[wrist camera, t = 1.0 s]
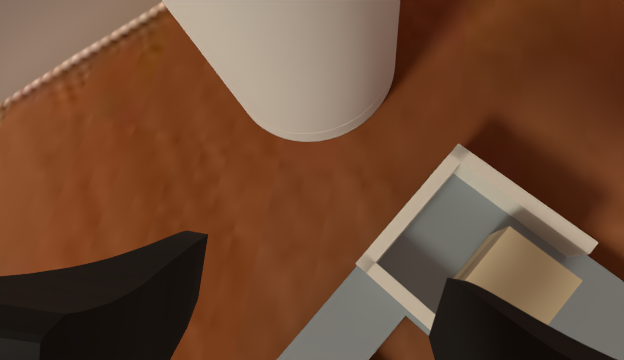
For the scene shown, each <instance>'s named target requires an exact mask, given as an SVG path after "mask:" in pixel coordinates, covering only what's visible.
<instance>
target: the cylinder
mask: <svg viewBox="0 0 624 360" xmlns="http://www.w3.org/2000/svg"><path fill="white" fill-rule="evenodd" d="M162 2H163V3H164V4H165V6H166V7H167V8H168V9H169V11H170V12H171V13H172V15H173V16H174V17H175V19H176V20H177V21H178V23H179V24H180V25H181V27H182V28H183V29H184V30H185V32H186V33H187V34H188V36H189V37H190V38H191V40H192V41H193V42H194V44H195V45H196V46H197V47H198V49H199V50H200V51H201V53H202V54H203V55H204V57H205V58H206V59H207V61H208V62H209V63H210V65H211V66H212V67H213V68H214V70H215V71H216V72H217V74H218V75H219V76H220V78H221V79H222V80H223V82H224V83H225V84H226V85H227V87H228V88H229V89H230V91H231V92H232V93H233V95H234V96H235V97H236V99H237V100H238V101H239V103H240V104H241V105H242V106H243V108H244V109H245V110H246V112H247V113H248V114H249V116H250V117H251V118H252V119H253V120H254V121H255V122H256V123H257V124H258V125H260V126H261V127H262V128H264V129H265V130H267V131H268V132H270V133H272V134H274V135H276V136H279V137H282V138H285V139H289V140H294V141H302V142H313V141H322V140H327V139H331V138H335V137H338V136H341V135H343V134H345V133H348V132H349V131H351V130H353V129H355V128H356V127H358V126H360V125H361V124H362V123H364V122H365V121H366V120H367V119H368V118H370V117H371V116H372V115H373V114H374V113H375V111H376V110H377V109H378V108H379V106H380V105H381V104H382V102H383V101H384V99H385V97H386V96H387V94H388V92H389V89H390V87H391V84H392V81H393V76H394V70H395V59H396V47H397V34H398V22H399V9H400V0H162Z"/></svg>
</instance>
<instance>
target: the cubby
mask: <svg viewBox="0 0 624 360" xmlns="http://www.w3.org/2000/svg"><path fill="white" fill-rule="evenodd" d="M453 174H455V175H456V176H457V177H459V178H460V179H461V180H463V181H464V182H465V183H467V184H468V185H470V186H471V187H472V188H474V189H475V190H476V191H478V192H479V193H480V194H482V195H483V196H484V197H486V198H487V199H489V200H490V201H491V202H493V203H494V204H495V205H497V206H498V207H499V208H501V209H502V210H503V211H505V212H506V213H508V214H509V215H510V216H512V217H513V218H514V219H516V220H517V221H518V222H520V223H521V224H522V225H524V226H525V227H527V228H528V229H529V230H531V231H532V232H533V233H535V234H536V235H537V236H539V237H540V238H541V239H543V240H544V241H546V242H547V243H548V244H550V245H551V246H552V247H554V248H555V249H556V250H558V251H559V252H560V253H562V254H563V255H565V256H566V257H574V256H581V255H588V254H590V253H591V252H592V250H593V249H594V248H595V247H596V245H597V244H598V242H597V241H596V240H594V239H593V238H591V237H590V236H589V235H587V234H586V233H584V232H583V231H581V230H580V229H579V228H577V227H576V226H574V225H573V224H572V223H570V222H569V221H567V220H566V219H565V218H563V217H562V216H560V215H559V214H557V213H556V212H555V211H553V210H552V209H550V208H549V207H548V206H546V205H545V204H543V203H542V202H540V201H539V200H538V199H536V198H535V197H533V196H532V195H531V194H529V193H528V192H526V191H525V190H524V189H522V188H521V187H519V186H518V185H516V184H515V183H514V182H512V181H511V180H509V179H508V178H507V177H505V176H504V175H502V174H501V173H499V172H498V171H497V170H495V169H494V168H492V167H491V166H490V165H488V164H487V163H485V162H484V161H483V160H481V159H480V158H478V157H477V156H475V155H474V154H473V153H471V152H470V151H468V150H467V149H466V148H464V147H463V146H461V145H460V144H458V145H457V146H456V147H455V148H454V149H453V150H452V152H451V153H450V154H449V155H448V156H447V157H446V159H445V160H444V161H443V162H442V163H441V164H440V166H439V167H438V168H437V169H436V170H435V171H434V173H433V174H432V175H431V176H430V177H429V178H428V180H427V181H426V182H425V183H424V184H423V185H422V187H421V188H420V189H419V190H418V191H417V192H416V194H415V195H414V196H413V197H412V198H411V199H410V201H409V202H408V203H407V204H406V205H405V206H404V208H403V209H402V210H401V211H400V212H399V213H398V215H397V216H396V217H395V218H394V219H393V220H392V222H391V223H390V224H389V225H388V226H387V227H386V228H385V230H384V231H383V232H382V233H381V234H380V235H379V237H378V238H377V239H376V240H375V241H374V242H373V244H372V245H371V246H370V247H369V248H368V249H367V251H366V252H365V253H364V254H363V255H362V256H361V258H360V259H359V260H358V261H357V262H356V263H355V264H356V265H358V266H359V267H360V268H361V269H362V270H363V271H364V272H365V273H367V274H368V275H369V276H370V277H371V278H372V279H373V280H374V281H375V282H377V283H378V284H379V285H380V286H381V287H382V288H383V289H384V290H386V291H387V292H388V293H389V294H390V295H391V296H392V297H393V298H395V299H396V300H397V301H398V302H399V303H400V304H401V305H402V306H404V307H405V308H406V309H407V310H408V311H409V312H410V313H411V314H412V315H414V316H415V317H416V318H417V319H418V320H419V321H420V322H421V323H423V324H424V325H425V326H426V327H427V328H428V329H429V330H431V327H432V324H433V321H434V318H435V314H434V313H433V312H432V311H431V310H430V309H428V308H427V307H426V306H425V305H424V304H423V303H422V302H420V301H419V300H418V299H417V298H416V297H415V296H414V295H412V294H411V293H410V292H409V291H408V290H407V289H406V288H404V287H403V286H402V285H401V284H400V283H399V282H398V281H396V280H395V279H394V278H393V277H392V276H391V275H389V274H388V273H387V272H386V271H385V270H384V269H383V268H381V267H380V266H379V265H378V264H377V263H378V261H379V260H380V259H381V258H382V257H383V255H384V254H385V253H386V252H387V251H388V250H389V248H390V247H391V246H392V245H393V244H394V243H395V241H396V240H397V239H398V238H399V237H400V236H401V234H402V233H403V232H404V231H405V230H406V228H407V227H408V226H409V225H410V224H411V223H412V221H413V220H414V219H415V218H416V217H417V216H418V214H419V213H420V212H421V211H422V210H423V209H424V207H425V206H426V205H427V204H428V203H429V202H430V200H431V199H432V198H433V197H434V196H435V194H436V193H437V192H438V191H439V190H440V189H441V187H442V186H443V185H444V184H445V183H446V182H447V180H448V179H449V178H450V177H451V176H452V175H453Z"/></svg>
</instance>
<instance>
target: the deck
mask: <svg viewBox="0 0 624 360" xmlns="http://www.w3.org/2000/svg"><path fill="white" fill-rule="evenodd" d="M509 226H510V227H512V228H513V229H514V230H516V231H517V232H518V233H520V234H521V235H522V236H524V237H525V238H526V239H528V240H529V241H530V242H532V243H533V244H534V245H536V246H537V247H538V248H540V249H541V250H542V251H544V252H545V253H546V254H548V255H549V256H550V257H552V258H553V259H554V260H556V261H557V262H558V263H560V264H561V265H562V266H564V267H565V268H566V269H568V270H569V271H571V272H572V273H573V274H575V275H576V276H577V277H579V278H580V279H581V280H583V281H582V282H581V284H580V285H579V286H578V287H577V289H576V290H575V291H574V293H573V294H572V295H571V296H570V298H569V299H568V300H567V301H566V303H565V304H564V305H563V306H562V308H561V309H560V310H559V312H558V313H557V314H556V315H555V317H554V318H553V319H552V320H551V322H550V323H549V324H548V326H550V327H552V328H554V329H556V330H558V331H560V332H561V333H563V334H565V335H567V336H569V337H571V338H573V339H575V340H577V341H579V342H581V343H583V344H585V345H587V346H589V347H591V348H593V349H595V350H597V351H600V352H602V353H604V354H606V355H608V356H610V357H612V358H615V359H617V360H624V282H623V281H622V280H620V279H619V278H618V277H616V276H615V275H614V274H612V273H611V272H609V271H608V270H607V269H605V268H604V267H603V266H601V265H600V264H598V263H597V262H596V261H594V260H593V259H591V258H590V257H589V256H587V255H581V256H574V257H566V256H565V255H563V254H562V253H560V252H559V251H558V250H556V249H555V248H554V247H552V246H551V245H550V244H548V243H547V242H546V241H544V240H543V239H541V238H540V237H539V236H537V235H536V234H535V233H533V232H532V231H531V230H529V229H528V228H527V227H525V226H524V225H522V224H521V223H520V222H518V221H517V220H516V219H514V218H513V217H512V216H510V215H509V214H508V213H506V212H505V211H503V210H502V209H501V208H499V207H498V206H497V205H495V204H494V203H493V202H491V201H490V200H489V199H487V198H486V197H484V196H483V195H482V194H480V193H479V192H478V191H476V190H475V189H474V188H472V187H471V186H470V185H468V184H467V183H465V182H464V181H463V180H461V179H460V178H459V177H457V176H456V175H455V174H453V175H452V176H451V177H450V178H449V179H448V180H447V182H446V183H445V184H444V185H443V186H442V187H441V189H440V190H439V191H438V192H437V193H436V194H435V196H434V197H433V198H432V199H431V200H430V202H429V203H428V204H427V205H426V206H425V207H424V209H423V210H422V211H421V212H420V213H419V214H418V216H417V217H416V218H415V219H414V220H413V221H412V223H411V224H410V225H409V226H408V227H407V228H406V230H405V231H404V232H403V233H402V234H401V236H400V237H399V238H398V239H397V240H396V241H395V243H394V244H393V245H392V246H391V247H390V248H389V250H388V251H387V252H386V253H385V254H384V255H383V257H382V258H381V259H380V260H379V261H378V263H377V264H378V265H379V266H380V267H381V268H383V269H384V270H385V271H386V272H387V273H388V274H389V275H391V276H392V277H393V278H394V279H395V280H396V281H398V282H399V283H400V284H401V285H402V286H403V287H404V288H406V289H407V290H408V291H409V292H410V293H411V294H412V295H414V296H415V297H416V298H417V299H418V300H419V301H420V302H422V303H423V304H424V305H425V306H426V307H427V308H428V309H430V310H431V311H432V312H433V313H434V314H435V315H436V311H437V308H438V305H439V302H440V299H441V296H442V292H443V289H444V286H445V283H446V280H447V278H453V277H454V276H455V275H456V274H457V273H458V271H459V270H460V269H461V268H462V267H463V265H464V264H465V263H466V262H467V260H468V259H469V258H470V257H471V256H472V254H473V253H474V252H475V251H476V250H477V248H478V247H479V246H480V245H481V244H482V242H483V241H484V240H485V239H486V238H487V236H488V235H490V234H492V233H495V232H497V231H499V230H502V229H504V228H506V227H509ZM405 315H406V316H407V317H408V318H409V319H410V320H412V321H413V322H414V323H415V324H416V325H417V326H418V327H419V328H420V329H422V330H423V331H424V332H425V333H426V334H427V335H428V336H429V334H430V330H429V329H428V328H427V327H426V326H425V325H424V324H423V323H421V322H420V321H419V320H418V319H417V318H416V317H415V316H414V315H412V314H411V313H410V312H409V311H408V310H407V309H406V308H405V307H404V306H402V305H401V304H400V303H399V302H398V301H397V300H396V299H395V298H393V297H392V296H391V295H390V294H389V293H388V292H387V291H386V290H384V289H383V288H382V287H381V286H380V285H379V284H378V283H377V282H375V281H374V280H373V279H372V278H371V277H370V276H369V275H368V274H367V273H365V272H364V271H363V270H362V269H361V268H360V267H359V266H357V267H356V268H355V269H354V270H353V271H352V273H351V274H350V275H349V276H348V277H347V278H346V280H345V281H344V282H343V283H342V284H341V285H340V287H339V288H338V289H337V290H336V291H335V292H334V294H333V295H332V296H331V297H330V298H329V299H328V301H327V302H326V303H325V304H324V305H323V306H322V308H321V309H320V310H319V311H318V312H317V313H316V315H315V316H314V317H313V318H312V319H311V320H310V322H309V323H308V324H307V325H306V326H305V327H304V329H303V330H302V331H301V332H300V333H299V334H298V336H297V337H296V338H295V339H294V340H293V341H292V343H291V344H290V345H289V346H288V347H287V348H286V350H285V351H284V352H283V353H282V354H281V355H280V357H279V358H278V359H277V360H369V359H370V358H371V356H372V355H373V354H374V353H375V352H376V350H377V349H378V348H379V347H380V345H381V344H382V343H383V342H384V341H385V339H386V338H387V337H388V336H389V335H390V333H391V332H392V331H393V330H394V329H395V327H396V326H397V325H398V324H399V323H400V321H401V320H402V319H403V318H404V317H405Z"/></svg>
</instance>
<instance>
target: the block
mask: <svg viewBox="0 0 624 360" xmlns="http://www.w3.org/2000/svg"><path fill="white" fill-rule="evenodd" d="M453 279H458V280H464V281H468V282H471V283H473V284H475V285H478V286H480V287H482V288H484V289H485V290H487V291H489V292H491V293H493V294H495V295H496V296H498V297H500V298H502V299H503V300H505V301H507V302H508V303H510V304H512V305H514V306H515V307H517V308H519V309H520V310H522V311H524V312H526V313H527V314H529V315H531V316H532V317H534V318H536V319H538V320H540V321H541V322H543V323H545V324H547V325H548V324H549V323H550V322H551V320H552V319H553V318H554V317H555V315H556V314H557V313H558V312H559V310H560V309H561V308H562V306H563V305H564V304H565V303H566V301H567V300H568V299H569V298H570V296H571V295H572V294H573V293H574V291H575V290H576V289H577V287H578V286H579V285H580V284H581V282H582V281H583V280H581V279H580V278H579V277H577V276H576V275H575V274H573V273H572V272H571V271H569V270H568V269H566V268H565V267H564V266H562V265H561V264H560V263H558V262H557V261H556V260H554V259H553V258H552V257H550V256H549V255H548V254H546V253H545V252H544V251H542V250H541V249H540V248H538V247H537V246H536V245H534V244H533V243H532V242H530V241H529V240H528V239H526V238H525V237H524V236H522V235H521V234H520V233H518V232H517V231H516V230H514V229H513V228H512V227H510V226H509V227H506V228H504V229H502V230H499V231H497V232H495V233H492V234H490V235H488V236H487V238H486V239H485V240H484V241H483V242H482V244H481V245H480V246H479V247H478V248H477V250H476V251H475V252H474V253H473V254H472V256H471V257H470V258H469V259H468V260H467V262H466V263H465V264H464V265H463V267H462V268H461V269H460V270H459V271H458V273H457V274H456V275H455V276H454V277H453Z"/></svg>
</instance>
